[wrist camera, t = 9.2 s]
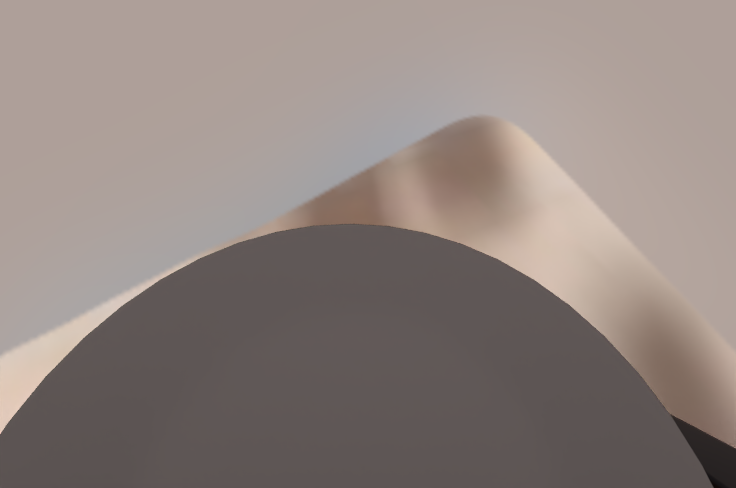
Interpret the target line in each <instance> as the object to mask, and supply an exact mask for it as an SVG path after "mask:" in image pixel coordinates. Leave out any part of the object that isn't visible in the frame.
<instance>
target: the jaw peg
mask: <svg viewBox="0 0 736 488" xmlns="http://www.w3.org/2000/svg"><path fill="white" fill-rule="evenodd" d="M0 488H713V486H712V484H711V482H710V480H709V478H708V476H707V474H706V472H705V470H704V468H703V466H702V465H701V463H700V461H699V460H698V458H697V457H696V455H695V453H694V452H693V450H692V449H691V447H690V445H689V444H688V442H687V441H686V439H685V437H684V436H683V434H682V433H681V431H680V429H679V428H678V426H677V425H676V423H675V421H674V420H673V418H672V417H671V415H670V414H669V413H668V411H667V410H666V409H665V407H664V406H663V405H662V403H661V402H660V401H659V399H658V398H657V397H656V395H655V394H654V393H653V392H652V390H651V389H650V388H649V386H648V385H647V384H646V382H645V381H644V380H643V378H642V377H641V376H640V375H639V373H638V372H637V371H636V370H635V369H634V368H633V367H632V366H631V364H630V363H629V362H628V361H627V360H626V359H625V358H624V357H623V356H622V355H621V354H620V353H619V352H618V350H617V349H616V348H615V347H614V346H613V345H612V344H611V343H610V342H609V341H608V340H607V339H606V338H605V336H604V335H602V334H601V333H600V332H599V331H598V330H597V329H596V328H594V327H593V326H592V325H591V324H590V323H589V322H588V321H587V320H585V319H584V318H583V317H582V316H581V315H580V314H579V313H578V312H576V311H575V310H574V309H573V308H572V307H571V306H570V305H568V304H567V303H565V302H564V301H563V300H561V299H560V298H558V297H557V296H556V295H554V294H553V293H552V292H550V291H549V290H547V289H546V288H545V287H543V286H542V285H540V284H539V283H538V282H536V281H535V280H533V279H531V278H530V277H528V276H526V275H524V274H523V273H521V272H519V271H517V270H516V269H514V268H512V267H510V266H508V265H507V264H505V263H503V262H501V261H500V260H498V259H496V258H493V257H491V256H489V255H486V254H484V253H482V252H479V251H477V250H475V249H472V248H470V247H468V246H465V245H463V244H460V243H457V242H453V241H450V240H447V239H444V238H440V237H437V236H434V235H430V234H427V233H423V232H417V231H412V230H406V229H401V228H395V227H390V226H376V225H361V224H339V225H320V226H310V227H304V228H298V229H292V230H286V231H280V232H275V233H271V234H268V235H264V236H261V237H257V238H254V239H250V240H247V241H243V242H240V243H237V244H234V245H232V246H229V247H227V248H224V249H222V250H220V251H217V252H215V253H212V254H210V255H207V256H205V257H202V258H200V259H198V260H196V261H194V262H192V263H191V264H189V265H187V266H185V267H183V268H181V269H180V270H178V271H176V272H174V273H172V274H170V275H168V276H167V277H165V278H163V279H161V280H160V281H158V282H157V283H155V284H154V285H152V286H151V287H149V288H148V289H146V290H145V291H143V292H142V293H140V294H139V295H137V296H136V297H135V298H133V299H132V300H130V301H129V302H127V303H126V304H124V305H123V306H122V307H120V308H119V309H118V310H117V311H116V312H114V313H113V314H112V315H111V316H110V317H108V318H107V319H106V320H105V321H104V322H102V323H101V324H100V325H99V326H98V327H96V328H95V329H94V330H93V331H92V332H90V333H89V334H88V335H87V336H86V337H85V338H83V339H82V340H81V341H80V343H79V344H78V345H77V346H76V347H75V348H74V349H73V350H72V351H71V352H70V353H69V354H68V355H67V356H66V357H65V358H64V359H63V360H62V361H61V362H60V363H59V364H58V365H57V366H56V367H55V368H54V369H53V370H52V371H51V372H50V373H49V374H48V375H47V376H46V377H45V378H44V380H43V381H42V382H41V383H40V384H39V386H38V387H37V388H36V389H35V391H34V392H33V393H32V394H31V395H30V397H29V398H28V399H27V400H26V402H25V403H24V404H23V405H22V406H21V408H20V409H19V410H18V411H17V413H16V414H15V415H14V416H13V417H12V419H11V420H10V421H9V422H8V424H7V425H6V427H5V428H4V430H3V431H2V433H1V434H0Z"/></svg>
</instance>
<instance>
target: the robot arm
mask: <svg viewBox="0 0 736 488" xmlns="http://www.w3.org/2000/svg"><path fill="white" fill-rule="evenodd" d="M670 415H671V414H670ZM671 417H672V418H673V420H674V421H675V423H676V425H677V426H678V428H679V429H680V431H681V433H682V434H683V436H684V437H685V439H686V441H687V442H688V444H689V445H690V447H691V449H692V450H693V452H694V453H695V455H696V457H697V458H698V460H699V461H700V463H701V465H702V466H703V468H704V470H705V472H706V474H707V476H708V478H709V480H710V482H711V484H712V486H713V488H736V449H735V448H734V447H732V446H730V445H728V444H726V443H724V442H722V441H720V440H718V439H716V438H715V437H713V436H711V435H709V434H707V433H705V432H703V431H701V430H699V429H697V428H695V427H694V426H692V425H690V424H688V423H686V422H684V421H682V420H680V419H678V418H676V417H675V416H673V415H671Z"/></svg>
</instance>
